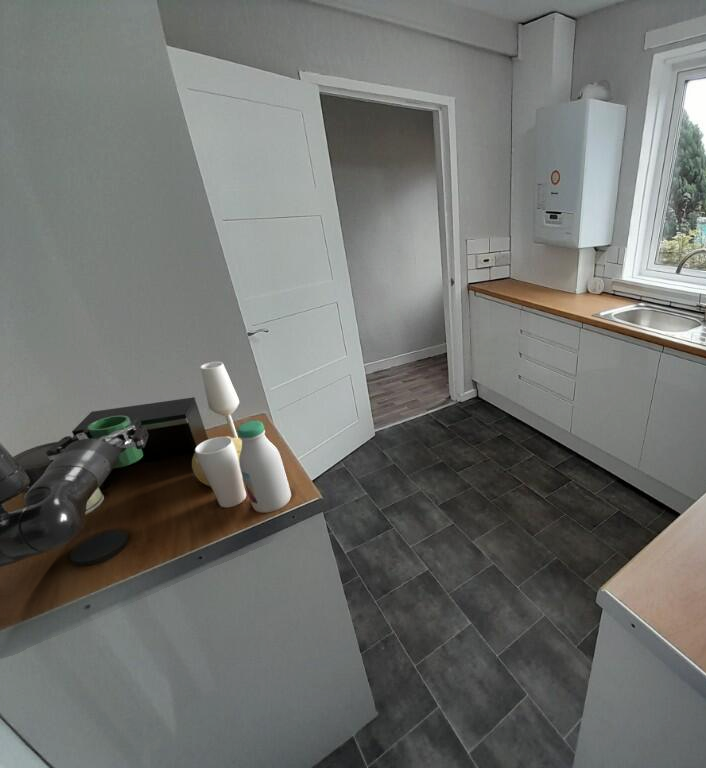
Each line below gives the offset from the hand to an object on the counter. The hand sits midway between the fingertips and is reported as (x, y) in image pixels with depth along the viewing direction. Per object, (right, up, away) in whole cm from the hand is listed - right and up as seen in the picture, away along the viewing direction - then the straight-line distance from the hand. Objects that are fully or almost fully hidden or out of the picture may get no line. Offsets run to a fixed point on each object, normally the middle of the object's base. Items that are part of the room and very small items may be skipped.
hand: (116, 425), depth 85 cm
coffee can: (-12, -18, +3) cm, 23 cm away
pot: (+1, -7, +1) cm, 7 cm away
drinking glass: (+20, -18, +7) cm, 28 cm away
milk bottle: (+29, -18, +6) cm, 35 cm away
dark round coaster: (+4, -23, -7) cm, 24 cm away
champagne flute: (+7, -8, +27) cm, 29 cm away
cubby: (-5, -13, +17) cm, 22 cm away
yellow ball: (+14, -14, +14) cm, 24 cm away
